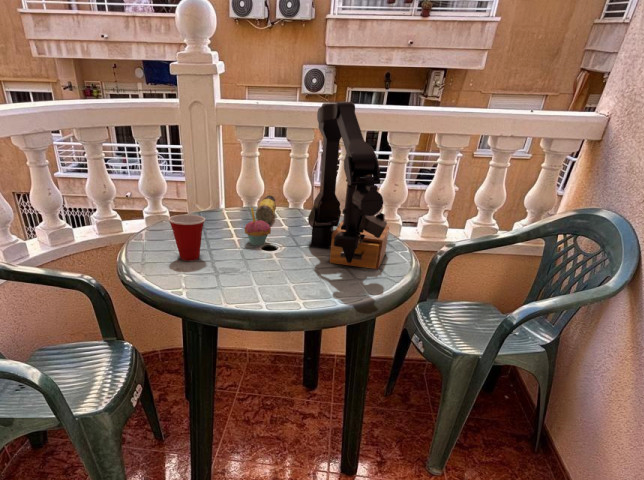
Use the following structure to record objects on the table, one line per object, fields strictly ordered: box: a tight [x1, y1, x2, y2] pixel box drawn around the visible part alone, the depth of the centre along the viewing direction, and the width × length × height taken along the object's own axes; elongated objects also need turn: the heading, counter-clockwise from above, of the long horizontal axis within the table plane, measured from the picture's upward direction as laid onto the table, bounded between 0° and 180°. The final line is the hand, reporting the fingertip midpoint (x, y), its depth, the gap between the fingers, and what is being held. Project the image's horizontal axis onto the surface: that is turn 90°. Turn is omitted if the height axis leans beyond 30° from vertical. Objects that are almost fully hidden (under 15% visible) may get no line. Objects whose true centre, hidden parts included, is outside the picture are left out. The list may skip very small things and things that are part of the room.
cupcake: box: [244, 205, 272, 246], centre depth 156 cm, size 9×8×12 cm
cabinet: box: [329, 219, 391, 270], centre depth 147 cm, size 14×15×9 cm
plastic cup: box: [167, 214, 206, 262], centre depth 145 cm, size 11×11×12 cm
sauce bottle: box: [255, 195, 277, 224], centre depth 180 cm, size 6×6×20 cm
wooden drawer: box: [329, 239, 380, 270], centre depth 143 cm, size 17×13×7 cm
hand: (349, 262), depth 136 cm, fingers closed
